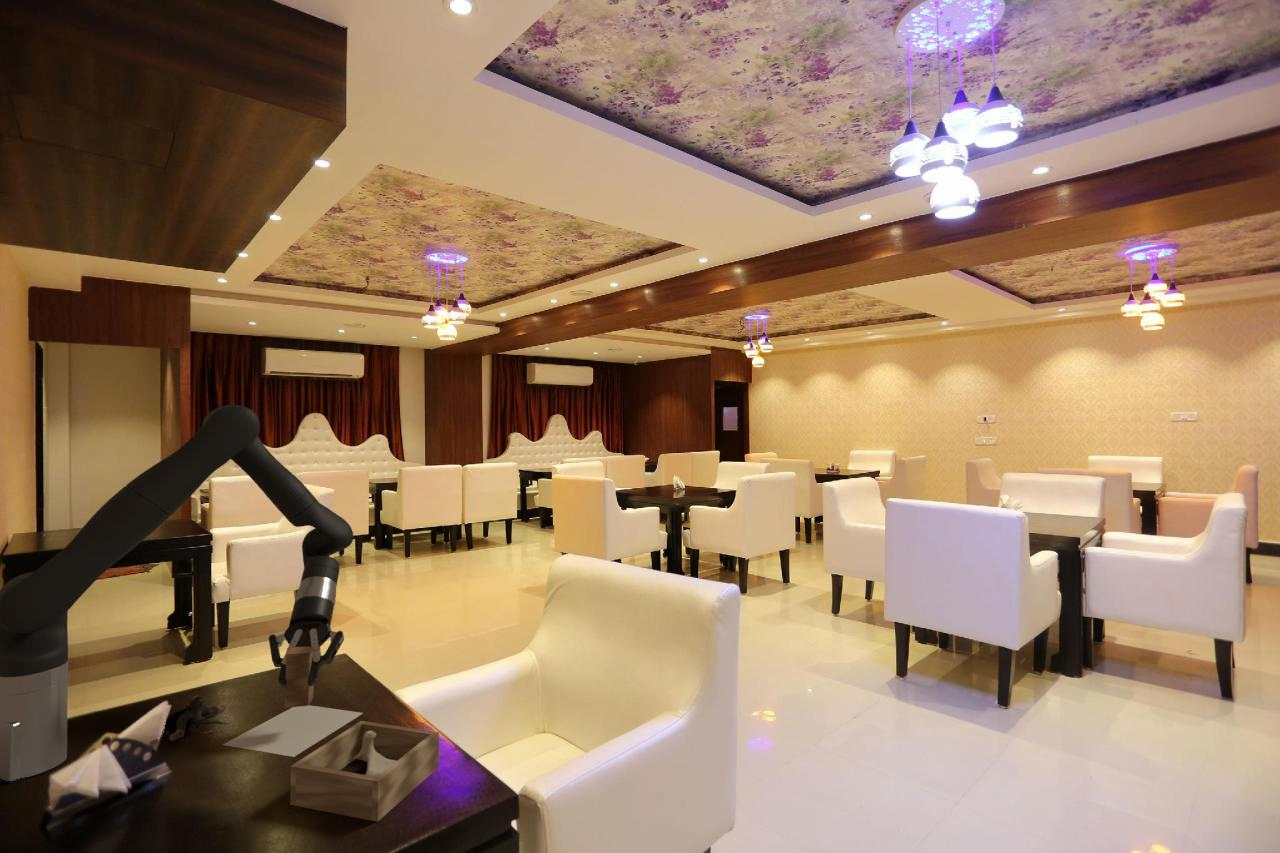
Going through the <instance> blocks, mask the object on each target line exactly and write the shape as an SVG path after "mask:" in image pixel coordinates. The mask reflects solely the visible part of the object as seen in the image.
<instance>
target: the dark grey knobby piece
mask: <svg viewBox="0 0 1280 853" xmlns="http://www.w3.org/2000/svg"><path fill="white" fill-rule="evenodd" d="M204 701H205V700H204V698H203V697H202V695H200V694H197V695H195V696H191V697H190V698H189V699H188V701H187V703H186V704H185V707H184V708H182V709H179V710H176V711H174V712H172V713H171V714H169V716H167V717H166V719H167V721H166V725H165V729H164V733H163V735H162V738H168V739H169V740H170V741H171V742H174V741H177V740H179V739H183V738H184V737H185V735H186V734H188V735H190V736H191V735H192V734H201V735H203V734H204V735H206V736H207V735H209V736H210V735H211V734H213V733H214V730H208V731H204V730H200V729H198V727H199V726H200V725H214V724H215V725H216V724H217V725H224V726H225V725H230V724H232V723H233V721H232V720H231V721H228V722H222V721H220V720H218V719H216V720H210V721H204V720H200V719H201V717H203V718H208V717H214V716H217V715H220V714H221V713H223V712H224V711H225V710H226V709H227V708H228V705H227V704H225V703H220V704H217V705H214V706H211V707H209V706H208V705H204Z"/></svg>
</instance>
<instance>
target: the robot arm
mask: <svg viewBox="0 0 1280 853" xmlns="http://www.w3.org/2000/svg"><path fill="white" fill-rule="evenodd" d="M260 424H261V423H260V420H259V417H258V415H257V414H256V413H255V412H254V411H253V410H252V409H250V408H248V407H246V406H243V405H239V404H238V405H237V404H230V405H229V404H227V405H224V406H220V407H216V408H215V409H213V410H211V411H210V412H209V413H208V414H206V416H205V417H204V419H203V420H202V425H201V427H200V428H199V429H198V430H197V431H196V433H194V434H193V435H192V436H191V438H189V439H188V440H187V441H186V442H185V443H184V444H183V445H182V446H180V448H178V449H177V450H175V451H174V452H173V453H171V454H170V455H168V456H167V457H165V458H163V459H161V460H159V461H158V462H157V463H155V464H154V465H151V467H149V468H147V469H146V470H144V472H141V473H140V474H139V475H138V476H136V477H135V478H134V479H132V480H130V481H129V482H128V483H127V484H126V485H124V486H123V487H122V488H121V489H120V490H118V491H117V492H116V493H115V494H114V495H113V496H112V497H111V498H109V499H108V500H107V501H106V502H105V503H104V504H103V505H101V507H100V508H99V509H98V510H97V511H96V512H95V513H94V514H93V515H92V516H91V517H90V519H89V520H87V522H86V523H85V524H84V526H82V528H81V529H80V530H79V531H78V533H76V535H75V536H74V537H73V539H72V540H71V541H70V542H69V543H68V544H67V545H66V546H65V547H64V548H62V550H60V551H59V552H58V553H57V554H56V555H55V556H53V557H52V558H50V559H49V560H48V561H46V563H44V564H43V565H42V566H40V567H39V568H38V569H36V570H35V571H31V572H26V573H22V574H20V575H17V576H15V577H14V578H12V579H10V580H9V581H7V582H6V583H5V584H4V585H3V586H2V587H1V588H0V778H1V779H3V780H6V781H14V780H16V779H18V780H21V779H20V778H22V779H26V778H29V777H33V776H36V775H40V774H42V773H45V772H47V771H49V770H52V769H54V768H56V767H58V766H59V765H61V764H62V763H64V762H65V761H66V759H67V758H68V699H69V698H68V696H69V695H68V691H69V689H68V688H69V687H68V686H69V685H68V683H69V682H68V681H69V678H68V677H69V639H68V638H69V634H68V633H69V632H68V620H69V619H68V615H69V614H68V611H69V610H70V609H71V608H72V606H74V605H75V603H76V602H77V601H78V600H79V599H80V597H82V596H83V594H85V593H86V592H87V590H88V589H89V588H90V587H91V586H92V585H93V584H94V583H95V582H96V581H97V580H98V579H99V578H100V577H101V576H102V575H103V574H104V573H105V572H106V571H107V570H108V569H110V568H111V567H113V565H115V564H117V562H118V561H120V560H121V559H122V558H124V557H125V556H126V555H127V554H129V552H131V551H132V550H133V549H134V548H136V547H137V546H138V545H139V544H140V543H142V542H143V541H144V540H145V539H147V537H149V536H150V535H151V534H153V533H154V532H155V531H156V530H157V529H158V528H159V527H160V526H162V524H164V523H165V522H166V521H167V520H168V519H169V518H170V517H171V516H173V515H174V513H175V512H176V511H178V510H179V509H180V507H182V505H184V503H186V501H188V500H189V498H191V496H192V495H193V494H195V492H196V491H197V490H198V489H199V488H200V487H201V486H202V484H204V482H205V481H206V480H207V479H208V478H210V476H211V475H212V474H213V473H215V472H216V471H217V470H218V469H220V468H221V467H222V466H223V465H224V464H226V463H228V462H229V461H230V460H231V461H233V463H235V464H236V465H237V466H238V467H239V468H240V469H241V471H244V472H245V474H246V475H247V476H248V477H250V479H251V480H252V481H253V482H254V483H255V484H256V486H258V488H260V490H261V492H263V493H264V495H265V496H266V497H267V498H268V499H269V501H270V502H271V503H272V504H273V506H275V507H276V509H277V510H278V511H279V512H280V513H281V515H283V516H284V518H285V519H286V520H287V521H288V522H289V523H290V524H291V525H292V526H294V527H295V528H301V527H312V528H313V529H311V530H310V531H308V533H306V535H305V536H304V538H303V540H302V543H301V551H302V562H303V563H302V564H303V571H302V574H301V575H302V576H301V579H300V584H299V586H298V588H297V592H296V594H295V598H294V604H293V607H292V611H291V615H290V619H289V624H288V626H287V629H286V630H284V632H283V633H281V634H278V635H276V634H271V635H269V636H268V643H269V649H270V655H271V656H270V657H271V660H272V664H273V666H274V667H275V668H280V669H279V670H280V671H279V675H278V679H277V680H278V683H279V686H281V688H282V689H285V686H286V654H287V653H288V652H289V650H290V649H291V648H295V647H307V646H311V647H314V653H313V663H311V668H310V673H309V677H308V685H309V686H313V685H315V684H316V683H317V682H318V681H319V676H320V671H321V667H322V666H323V665H330V664H331V663H332V662H333V660H334V659H335V657H336V655H337V653H338V651H339V650H340V647H341V646H342V644H343V643H344V641H345V636H344V632H343V631H342V630H338V631H333V630H332V628H331V625H332V619H333V613H334V609H335V605H336V597H337V586H338V580H339V575H340V569H341V568H340V563H339V561H338V560H337V559H336V558H334V557H332V556H333V555H334V554H337V553H338V552H341V551H343V550H344V549H347V548H349V547H350V546H351V544H352V543H353V541H354V533H353V532H354V531H353V528H352V527H351V525H350V524H349V523H348V521H346V520H345V519H344V518H343V517H341V516H340V515H339V514H337V513H335V511H333V510H331V509H330V508H328V507H327V506H325V505H323V504H322V503H320V501H318V499H317V498H316V497H315V496H314V495H313V493H312V492H311V491H310V489H308V488H307V486H305V484H304V483H303V482H302V481H301V480H300V479H299V478H298V477H297V476H295V474H293V472H291V471H290V470H289V469H288V468H287V467H285V466H284V465H283V464H282V463H281V462H279V460H278V459H277V458H276V457H275V456H274V455H273V454H272V453H271V452H270V451H269V450H268V449H267V446H265V445H264V443H263V442H262V441H261V438H260V437H259V433H260V428H261V427H260V426H261V425H260ZM329 639H330V640H329ZM328 640H329V641H330V644H329V645H328V647H327V648H326V651H325V653H324V654H323V655H322V653H321V652H322V651H321V647H322V646H323V645H324V644H325V642H327V641H328ZM284 641H286V642H287V644H288V647H287V648H286V651H285V652H286V653H285V654H284V656H283V657H281V653H280V648H281V647H282V646H283V643H284ZM25 777H26V778H25ZM6 781H5V782H6ZM16 781H17V780H16ZM14 782H15V781H14Z"/></svg>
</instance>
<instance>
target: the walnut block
mask: <svg viewBox="0 0 1280 853" xmlns="http://www.w3.org/2000/svg"><path fill="white" fill-rule="evenodd" d="M313 653H314V647H311V646H307V647H295V648H291V649H290V650H289V652H288V653H287V654H286V653H285V654H286V686H285V688H284V708H292V707H300V706H308V705H310V704H311V702H312V700H313V698H314V685H315V684H314V685H313V686H309V685H308V677H309V673H310V668H311V663H313Z"/></svg>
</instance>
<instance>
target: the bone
mask: <svg viewBox="0 0 1280 853" xmlns="http://www.w3.org/2000/svg"><path fill="white" fill-rule="evenodd" d="M375 736H376V733H375V732H373V731H367V732H366V733H365V734H364V736H363V745H362V749H361V751H360V752H359V754H358V755H356V756H355V757H354V759H355V760H359V761H363V762H366V764H367V765H366V766H367V768H366V772H365V774H364V775H368V776H374V777H377V776H379V775H380V774H381V773H382V772H384V771H385V770H386V769H387V768H389V767H390V766H391V765H393V764H394V763H395V762H396V761H397V760H392V759H387V758H385V756H383V755H381V754H380V753H377V752H376V751H375V749H374V746H373V740H374V738H375Z"/></svg>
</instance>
